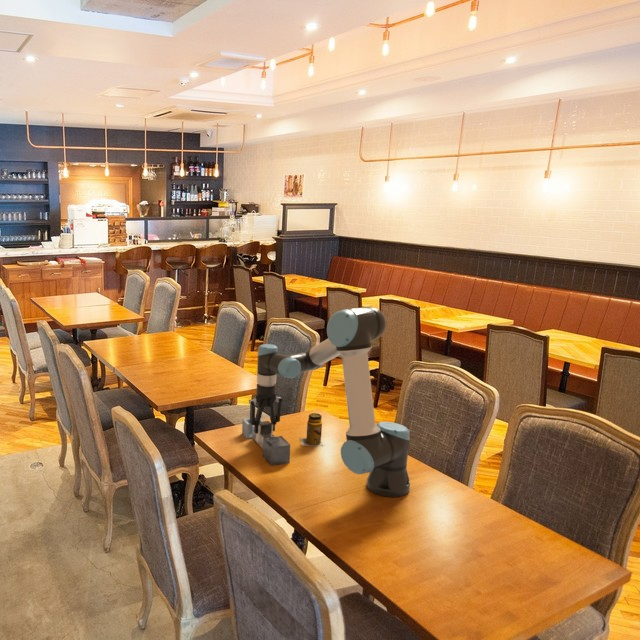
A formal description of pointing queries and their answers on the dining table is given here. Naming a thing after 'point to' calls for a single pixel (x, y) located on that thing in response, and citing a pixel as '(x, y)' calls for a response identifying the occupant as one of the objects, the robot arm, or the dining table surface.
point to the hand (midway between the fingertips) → (264, 439)
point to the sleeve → (276, 450)
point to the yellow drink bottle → (313, 431)
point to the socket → (247, 428)
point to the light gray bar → (263, 432)
